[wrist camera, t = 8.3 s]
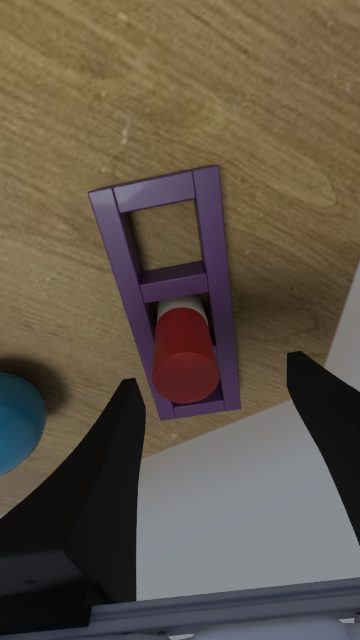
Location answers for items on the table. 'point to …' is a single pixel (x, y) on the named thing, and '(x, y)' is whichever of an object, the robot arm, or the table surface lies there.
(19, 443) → the ball
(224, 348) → the board
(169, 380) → the cylinder
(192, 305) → the cream token
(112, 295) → the table surface
